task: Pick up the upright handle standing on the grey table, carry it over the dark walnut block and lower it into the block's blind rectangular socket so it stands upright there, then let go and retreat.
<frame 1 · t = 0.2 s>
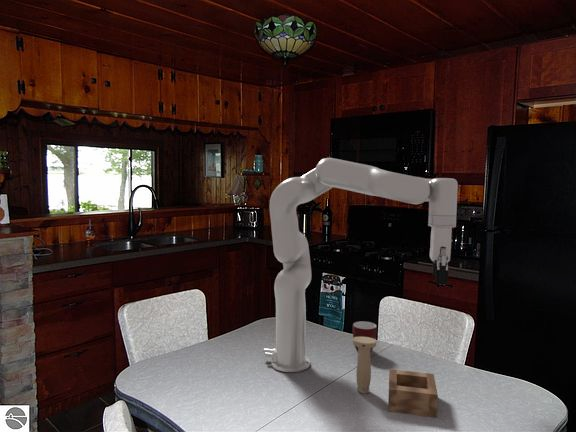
hand: (439, 279, 128), 31 cm above the table, tool pointing down, fingers open, 9 cm apart
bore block: (411, 402, 118), on the table
handle: (363, 392, 124), on the table
mug: (363, 352, 152), on the table
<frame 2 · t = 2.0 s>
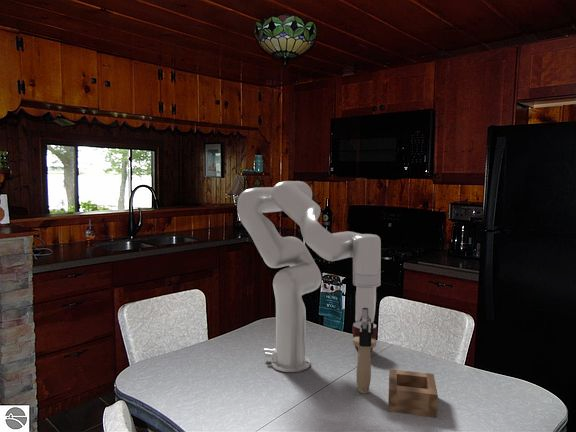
hand: (366, 339, 122), 15 cm above the table, tool pointing down, fingers open, 9 cm apart
nothing on the table moved.
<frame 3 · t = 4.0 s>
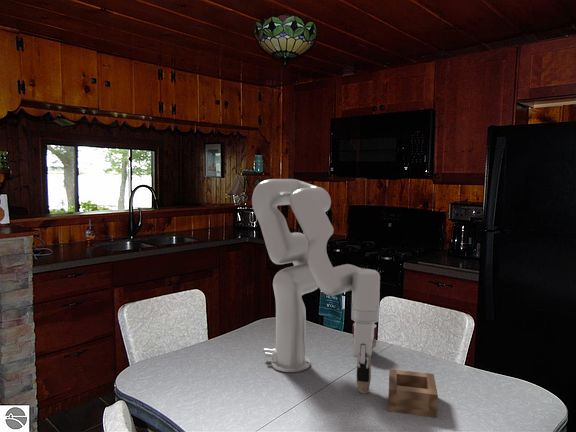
hand: (363, 376, 124), 4 cm above the table, tool pointing down, fingers closed on handle, 3 cm apart
handle: (363, 392, 124), on the table, touching gripper
everything else where it was.
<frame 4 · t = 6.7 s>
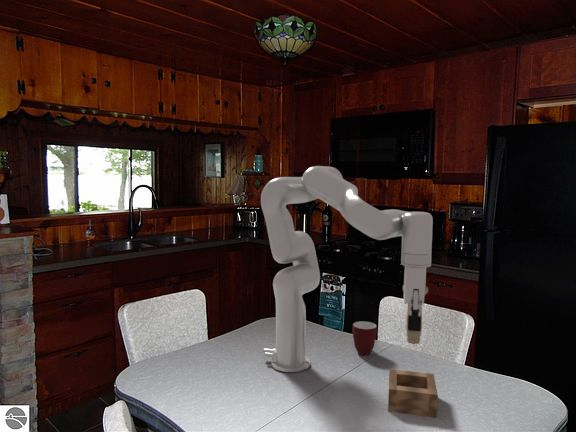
hand: (413, 326, 116), 21 cm above the table, tool pointing down, fingers closed on handle, 3 cm apart
handle: (413, 343, 117), point 17 cm above the table, touching gripper
everything else where it was.
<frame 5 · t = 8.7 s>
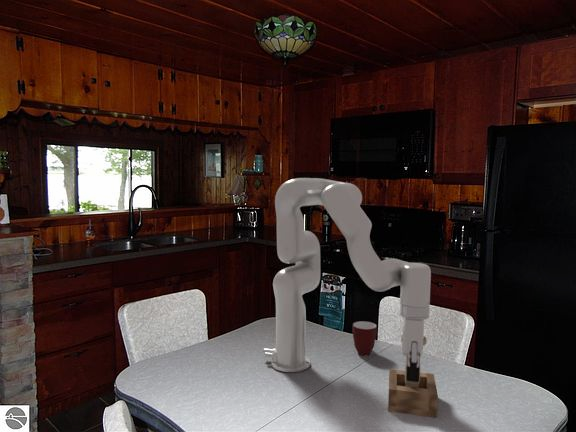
hand: (412, 376, 117), 7 cm above the table, tool pointing down, fingers closed on handle, 3 cm apart
handle: (411, 392, 118), point 3 cm above the table, touching gripper
everything else where it was.
when the fingers open (7 cm above the table, at t = 9.5 s): handle stays where it is, resting on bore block.
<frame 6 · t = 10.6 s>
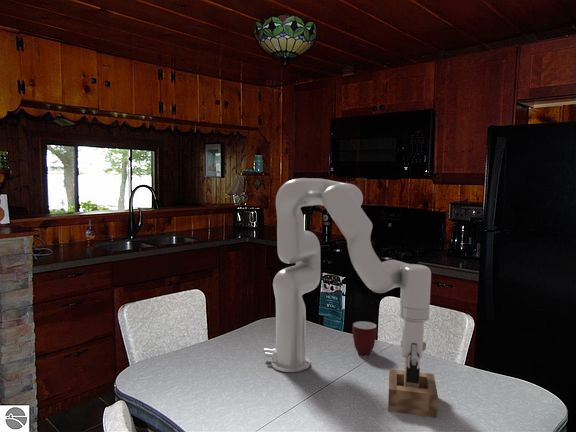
hand: (411, 374, 117), 8 cm above the table, tool pointing down, fingers open, 9 cm apart
handle: (410, 397, 118), point 1 cm above the table, touching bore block
everything else where it was.
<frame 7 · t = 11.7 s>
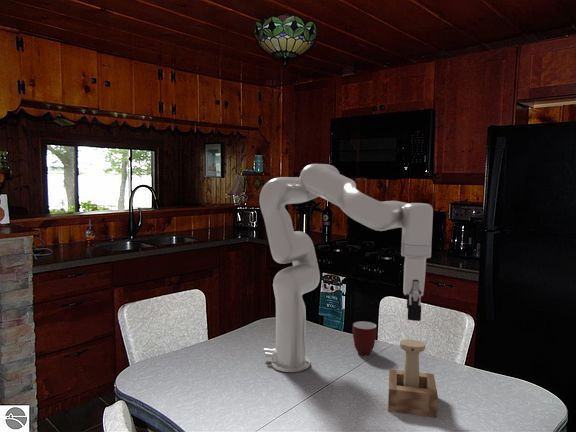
hand: (413, 314, 116), 24 cm above the table, tool pointing down, fingers open, 9 cm apart
nothing on the table moved.
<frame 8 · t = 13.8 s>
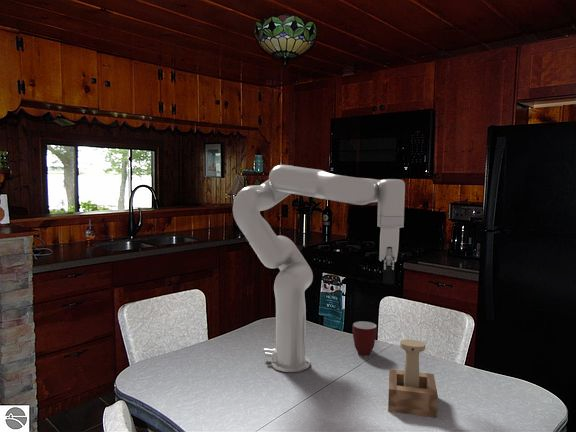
hand: (388, 279, 130), 30 cm above the table, tool pointing down, fingers open, 9 cm apart
nothing on the table moved.
at the end: handle inside the target area on the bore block (0.2 cm from its centre), point 1.3 cm above the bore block's base; handle tilted 0°; the gripper is holding nothing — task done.
